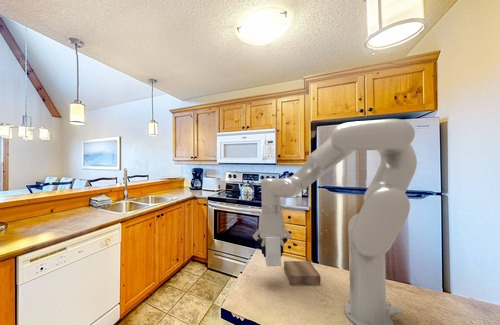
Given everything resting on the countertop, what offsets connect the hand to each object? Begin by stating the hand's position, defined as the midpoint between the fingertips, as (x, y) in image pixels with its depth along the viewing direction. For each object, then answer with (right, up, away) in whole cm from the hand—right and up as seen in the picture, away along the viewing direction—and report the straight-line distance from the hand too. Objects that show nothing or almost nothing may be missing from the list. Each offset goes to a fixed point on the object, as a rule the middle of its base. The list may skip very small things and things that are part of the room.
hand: (272, 254), depth 71 cm
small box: (0, -3, 0) cm, 3 cm away
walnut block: (+13, -13, +6) cm, 19 cm away
